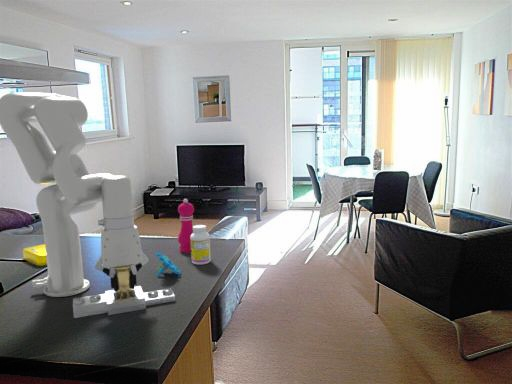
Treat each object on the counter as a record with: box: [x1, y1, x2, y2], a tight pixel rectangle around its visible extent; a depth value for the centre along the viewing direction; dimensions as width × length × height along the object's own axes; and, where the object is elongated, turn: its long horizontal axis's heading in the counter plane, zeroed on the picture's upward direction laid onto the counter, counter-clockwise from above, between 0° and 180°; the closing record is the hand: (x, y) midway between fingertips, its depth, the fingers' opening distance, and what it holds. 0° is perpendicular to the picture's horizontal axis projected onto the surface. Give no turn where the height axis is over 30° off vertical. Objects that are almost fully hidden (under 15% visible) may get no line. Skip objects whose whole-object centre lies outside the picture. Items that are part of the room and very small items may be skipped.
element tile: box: [22, 243, 47, 267], centre depth 167 cm, size 15×15×5 cm
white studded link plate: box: [72, 285, 176, 319], centre depth 123 cm, size 26×10×4 cm, turn 111°
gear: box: [155, 251, 181, 277], centre depth 145 cm, size 11×6×10 cm
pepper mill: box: [177, 198, 195, 254], centre depth 170 cm, size 7×7×20 cm
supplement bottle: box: [190, 224, 211, 266], centre depth 157 cm, size 7×7×13 cm
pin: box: [114, 265, 132, 300], centre depth 122 cm, size 5×5×10 cm
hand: (124, 288), depth 122 cm, fingers closed on pin, 3 cm apart
